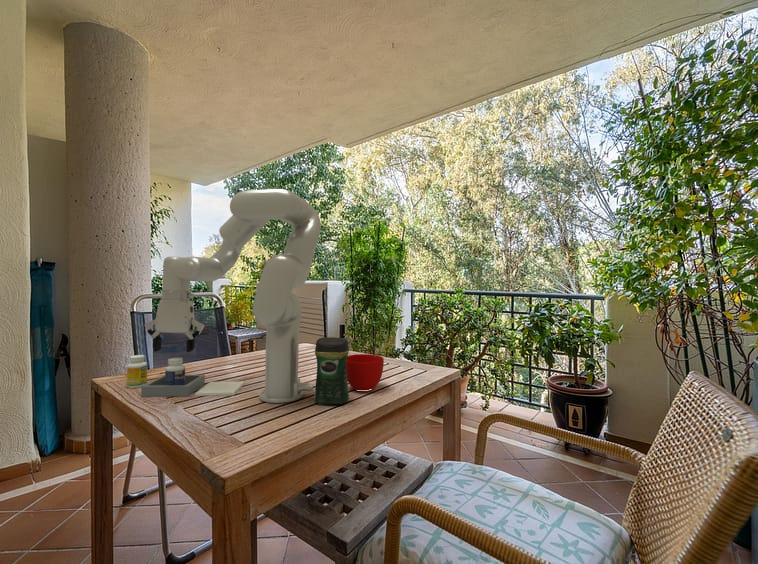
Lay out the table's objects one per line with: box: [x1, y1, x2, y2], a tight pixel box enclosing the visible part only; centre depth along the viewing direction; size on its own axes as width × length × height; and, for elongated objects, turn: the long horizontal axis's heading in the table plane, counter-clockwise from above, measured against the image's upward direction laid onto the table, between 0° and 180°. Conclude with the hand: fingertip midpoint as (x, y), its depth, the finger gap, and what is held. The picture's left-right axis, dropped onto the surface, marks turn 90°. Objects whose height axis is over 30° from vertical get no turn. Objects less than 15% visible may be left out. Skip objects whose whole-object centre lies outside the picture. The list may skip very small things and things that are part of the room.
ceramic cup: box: [346, 353, 385, 390], centre depth 119 cm, size 13×17×10 cm
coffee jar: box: [314, 336, 350, 405], centre depth 104 cm, size 10×8×19 cm
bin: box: [140, 374, 206, 398], centre depth 112 cm, size 13×13×3 cm
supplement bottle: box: [126, 354, 148, 389], centre depth 116 cm, size 5×5×10 cm
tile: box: [194, 381, 246, 397], centre depth 113 cm, size 11×12×1 cm
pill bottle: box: [164, 357, 186, 385], centre depth 112 cm, size 5×5×10 cm
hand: (173, 351), depth 112 cm, fingers open, 9 cm apart
